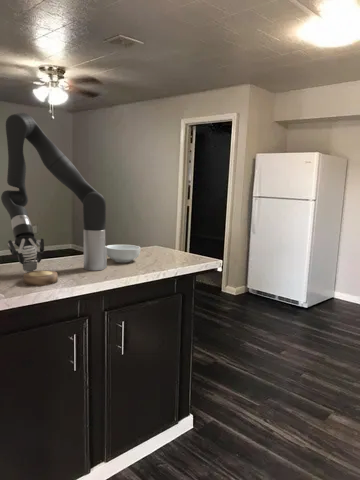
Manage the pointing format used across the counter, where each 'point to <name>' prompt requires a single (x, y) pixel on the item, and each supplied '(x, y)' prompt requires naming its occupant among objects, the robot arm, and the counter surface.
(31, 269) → the light bulb
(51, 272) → the bulb stand
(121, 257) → the cereal bowl
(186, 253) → the counter surface
